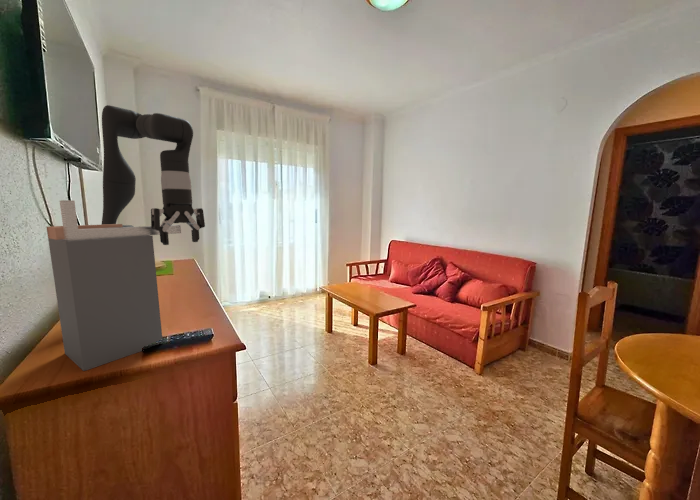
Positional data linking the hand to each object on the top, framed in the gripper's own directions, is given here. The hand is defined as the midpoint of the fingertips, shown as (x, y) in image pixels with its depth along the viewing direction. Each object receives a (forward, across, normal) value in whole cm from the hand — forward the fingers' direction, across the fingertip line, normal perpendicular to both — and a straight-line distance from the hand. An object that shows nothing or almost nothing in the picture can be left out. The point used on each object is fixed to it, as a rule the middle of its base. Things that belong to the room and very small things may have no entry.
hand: (181, 243), depth 88 cm
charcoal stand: (+29, +16, -9) cm, 35 cm away
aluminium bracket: (-3, +11, -5) cm, 12 cm away
